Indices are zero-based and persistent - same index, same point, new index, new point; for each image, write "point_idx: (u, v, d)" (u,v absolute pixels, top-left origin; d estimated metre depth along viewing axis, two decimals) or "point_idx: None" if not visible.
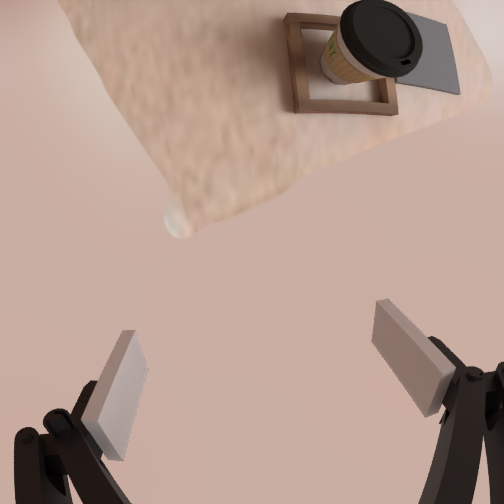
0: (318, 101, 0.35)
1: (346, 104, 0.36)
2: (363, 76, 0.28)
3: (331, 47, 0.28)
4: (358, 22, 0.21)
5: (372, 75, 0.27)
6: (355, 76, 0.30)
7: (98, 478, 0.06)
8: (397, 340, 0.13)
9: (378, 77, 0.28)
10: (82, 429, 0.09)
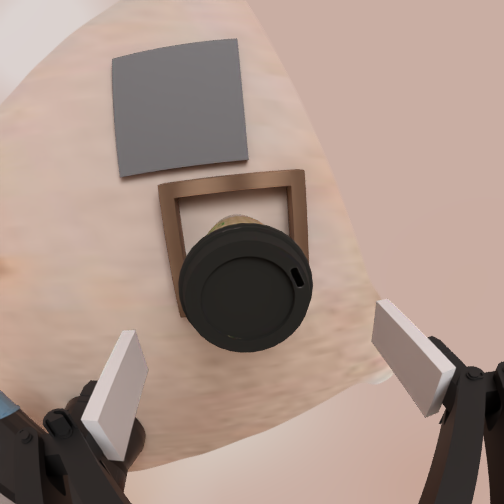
0: None
1: None
2: None
3: None
4: (246, 346, 0.21)
5: (295, 276, 0.25)
6: None
7: (98, 478, 0.06)
8: (398, 340, 0.13)
9: None
10: (82, 429, 0.09)
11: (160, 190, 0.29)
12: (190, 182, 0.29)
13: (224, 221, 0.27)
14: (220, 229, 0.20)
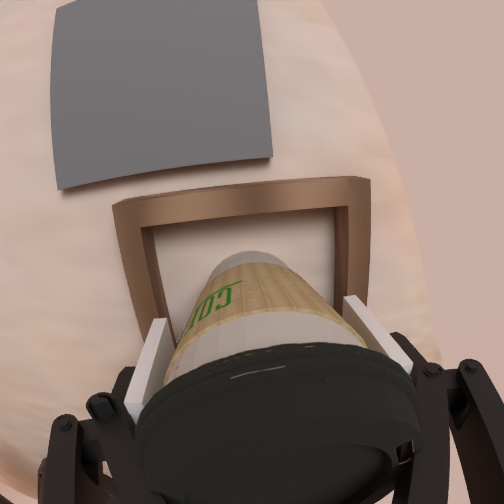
0: None
1: None
2: None
3: None
4: None
5: None
6: None
7: (136, 464, 0.07)
8: (361, 335, 0.14)
9: None
10: (123, 413, 0.10)
11: (116, 213, 0.16)
12: (168, 199, 0.16)
13: (231, 282, 0.14)
14: (224, 363, 0.07)
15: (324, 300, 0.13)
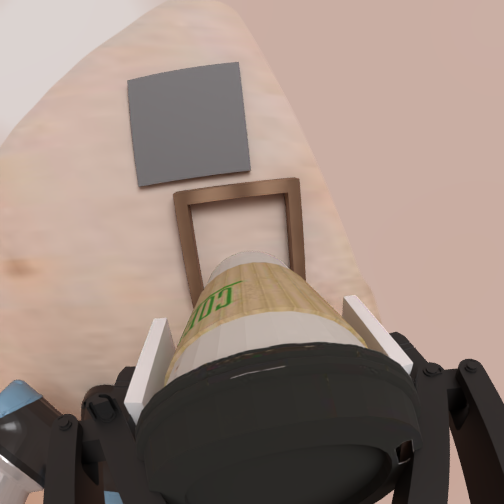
0: None
1: (296, 246, 0.38)
2: None
3: None
4: None
5: None
6: None
7: (136, 464, 0.07)
8: (361, 335, 0.14)
9: None
10: (123, 413, 0.10)
11: (175, 198, 0.35)
12: (201, 191, 0.35)
13: (231, 282, 0.14)
14: (225, 363, 0.07)
15: (324, 300, 0.13)
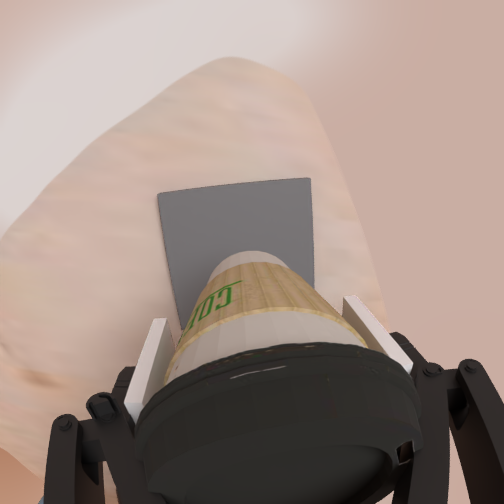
0: None
1: None
2: None
3: None
4: None
5: None
6: None
7: (136, 464, 0.07)
8: (361, 335, 0.14)
9: None
10: (123, 413, 0.10)
11: None
12: None
13: (231, 281, 0.14)
14: (224, 363, 0.07)
15: (324, 300, 0.13)
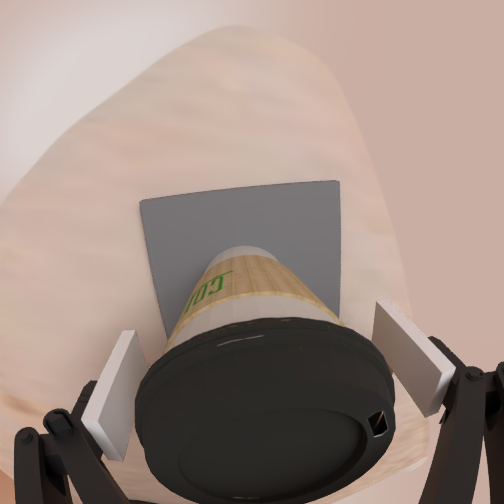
0: None
1: None
2: None
3: None
4: None
5: None
6: None
7: (98, 478, 0.06)
8: (397, 340, 0.13)
9: None
10: (82, 429, 0.09)
11: None
12: None
13: (223, 271, 0.15)
14: (212, 334, 0.08)
15: (308, 288, 0.14)
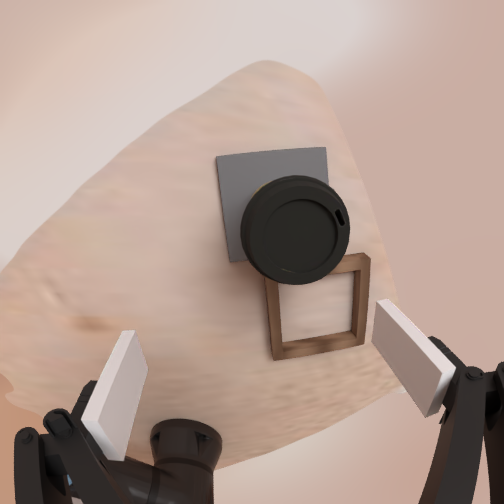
0: (358, 332, 0.45)
1: (361, 310, 0.43)
2: None
3: None
4: (298, 278, 0.26)
5: None
6: None
7: (98, 478, 0.06)
8: (398, 340, 0.13)
9: None
10: (82, 429, 0.09)
11: None
12: None
13: None
14: (277, 179, 0.25)
15: None
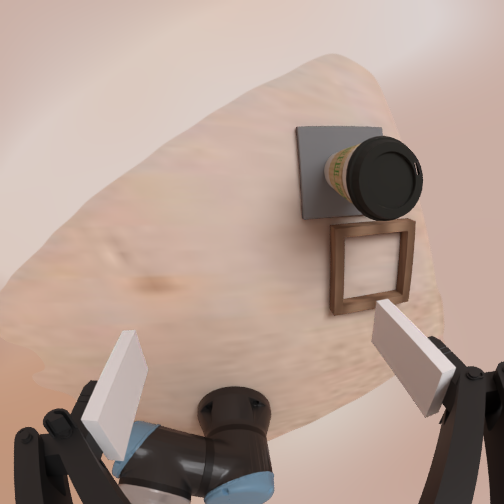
0: (404, 289, 0.49)
1: (407, 268, 0.48)
2: None
3: None
4: (389, 213, 0.30)
5: None
6: None
7: (98, 478, 0.06)
8: (398, 340, 0.13)
9: None
10: (82, 429, 0.09)
11: (336, 232, 0.45)
12: (355, 227, 0.45)
13: None
14: (373, 137, 0.29)
15: None
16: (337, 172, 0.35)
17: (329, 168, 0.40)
